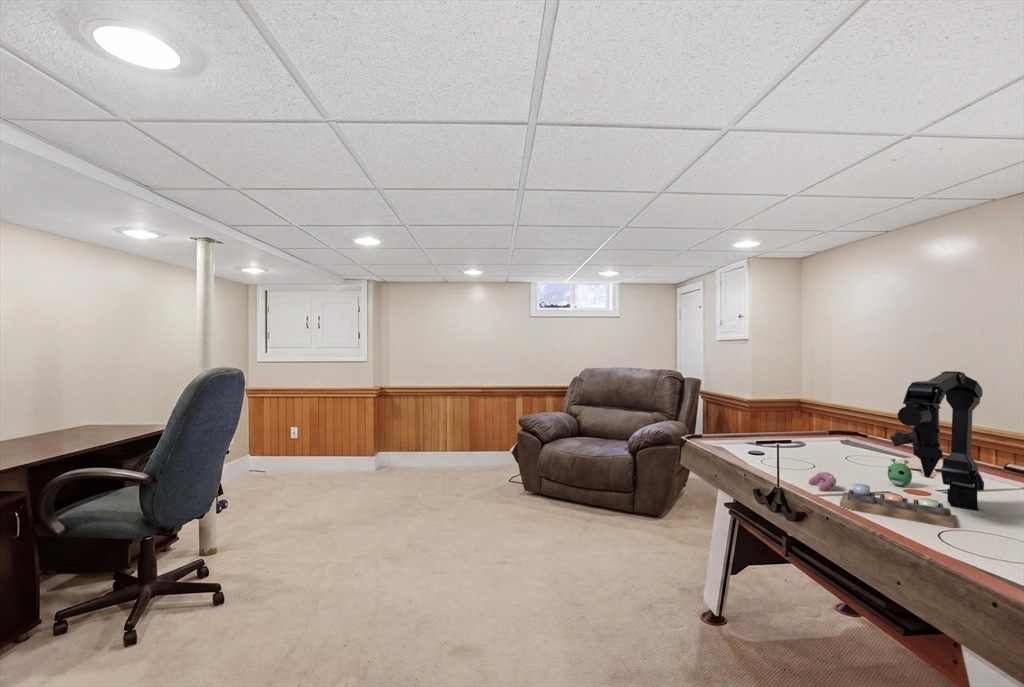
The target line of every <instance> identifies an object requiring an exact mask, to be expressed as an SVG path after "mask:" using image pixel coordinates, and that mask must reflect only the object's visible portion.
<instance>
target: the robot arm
mask: <svg viewBox="0 0 1024 687" xmlns="http://www.w3.org/2000/svg"><path fill="white" fill-rule="evenodd" d="M983 391H984V390H983V388H982V386H981V384H980V383H979V382H978V381H977V380H975V379H972V378H971V377H969V376H967V375H966V373H965V372H961V371H958V370H957V371H955V370H953V371H950V370H949V371H948V370H945V371H942V372H941V374H938V375H936V376H935V377H933V378H931V379H928V380H922V381H921V380H919V381H912V382H911V383H910V385H909V386H908V387H907V390H906V393H905V396H904V399H903V401H902V404H903V405H905V406H903V407H902V408H900V409H899V410H898V412H897V419H898V420H899V422H900V423H901V424H902V425H904V426H907V427H912V430H910V431H904V432H902V431H898V432H894V433H893V434H890V435H889V439H890V440H891V442H892V444H893V446H894V447H901V445H902V446H903V445H907V444H912V448H913V450H912V451H913V456H916V457H917V458H918V459H919V460H920V463H921V468H922V471H923V474H924V475H923V476H924V477H925V478H930V477H931V475H932V473H933V472H934V470H935V468H936V467H937V465H938V463H939V461H940V459H943V460H942V466H941V469H940V474H941V479H942V484H943V485H945V486H946V485H947V486H949V488H946V498H947V503H949V505H950V507H955V508H962V509H968V510H969V509H970V510H974V511H979V510H980V509H979V507H978V506H979V505H978V503H979V502H978V491H980V492H981V491H983V492H984V491H985V481H984V480H983V478H982V475H981V473H980V472H979V470H978V469H979V468H978V467H979V466H978V464H977V463H976V462H975V460H974V459H973V457H972V439H973V438H972V436H973V434H972V433H973V430H972V429H973V411H974V410H975V409H976V408H977V407H978V406H979V405H980V403H981V398H982V397H983V394H984V393H983ZM944 398H945V400H946V402H947V403H948V404H949V406H950V407H951V409H952V412H951V414H952V416H951V434H950V437H951V438H950V440H951V441H950V445H951V446H950V454H949V455H948V456H947V457H944V456H943V449H941V448H940V447H941V442H940V432H941V430H940V409H941V406H940V405H941V404H942V401H943V400H944ZM943 457H944V458H943Z"/></svg>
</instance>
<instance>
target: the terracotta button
mask: <svg viewBox="0 0 1024 687" xmlns="http://www.w3.org/2000/svg"><path fill="white" fill-rule="evenodd" d="M883 495H884V497H885V499H887V500H894V501H900V502H903V498H904V496H903V495H901V494H897V493H889V492H888V493H887V492H886V493H884V494H883Z"/></svg>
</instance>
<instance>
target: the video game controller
mask: <svg viewBox="0 0 1024 687" xmlns="http://www.w3.org/2000/svg"><path fill="white" fill-rule="evenodd" d="M808 484H809V485H810V484H811V485H810V486H814V485H817V484H818V485H819V488H818V489H819V491H820V492H826V491H829V490H830V489H831V488H833V487H834V486H835V485H837V478H836V477H835V476H834V475H833V474H832V473H830V472H827V471H820V472H817V473H816V474H815V475H813V476H812V477H811V478H809V479H808Z"/></svg>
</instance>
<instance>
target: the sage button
mask: <svg viewBox="0 0 1024 687" xmlns="http://www.w3.org/2000/svg"><path fill="white" fill-rule="evenodd" d="M917 500H918V502H919V505H925V506H932V507H938V503H939V501H937V500H935V499H930V498H923V497H922V498H918V499H917Z"/></svg>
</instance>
